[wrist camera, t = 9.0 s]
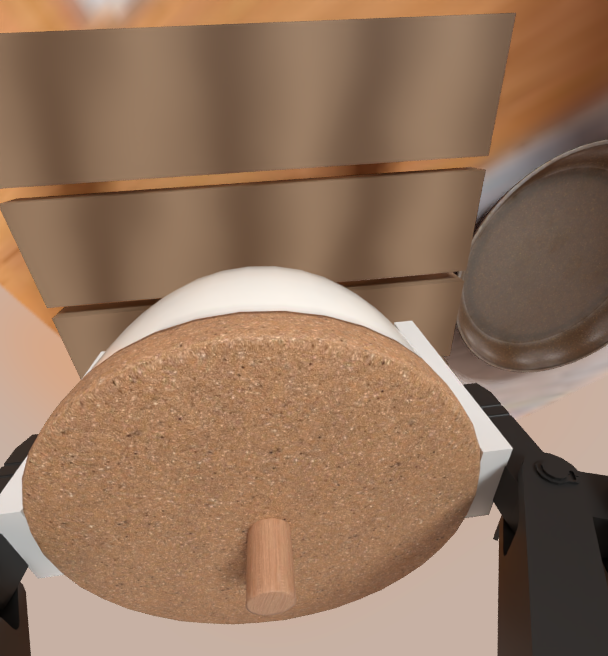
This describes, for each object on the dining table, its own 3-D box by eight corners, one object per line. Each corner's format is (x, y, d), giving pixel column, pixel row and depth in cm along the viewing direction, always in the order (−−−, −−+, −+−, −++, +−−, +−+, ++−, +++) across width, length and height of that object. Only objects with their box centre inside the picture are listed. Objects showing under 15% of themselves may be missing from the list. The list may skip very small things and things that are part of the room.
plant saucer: (596, 71, 25) (639, 64, 23) (691, 243, 33) (732, 254, 31) (393, 282, 32) (406, 297, 29) (513, 383, 40) (532, 403, 37)
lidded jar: (425, 260, 14) (656, 445, 6) (342, 447, 19) (404, 689, 11) (138, 190, 12) (-146, 337, 3) (128, 425, 16) (1, 715, 8)
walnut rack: (422, 54, 24) (516, 12, 15) (394, 350, 36) (436, 421, 27) (53, 71, 22) (-82, 36, 13) (154, 374, 34) (118, 458, 25)
